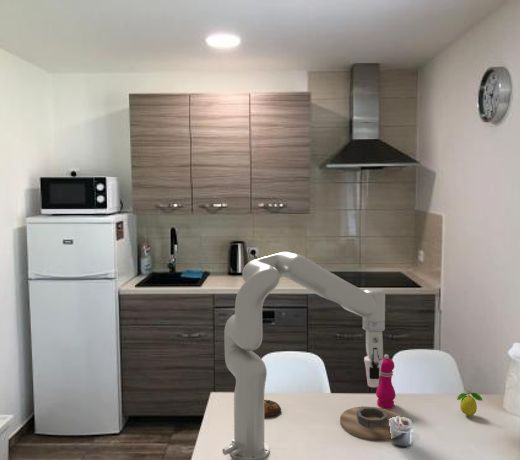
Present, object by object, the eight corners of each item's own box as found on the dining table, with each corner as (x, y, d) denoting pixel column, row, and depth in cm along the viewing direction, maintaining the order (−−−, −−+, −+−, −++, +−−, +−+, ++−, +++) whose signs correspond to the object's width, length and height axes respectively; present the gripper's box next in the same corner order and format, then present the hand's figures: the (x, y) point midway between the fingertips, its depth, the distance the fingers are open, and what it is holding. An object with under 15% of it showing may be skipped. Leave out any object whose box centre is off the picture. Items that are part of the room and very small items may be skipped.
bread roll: (279, 419, 175) (277, 405, 175) (249, 421, 177) (248, 407, 177) (283, 406, 186) (281, 394, 186) (255, 408, 188) (253, 396, 188)
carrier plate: (381, 447, 155) (382, 435, 155) (327, 424, 171) (327, 413, 171) (416, 424, 171) (416, 413, 170) (363, 405, 186) (363, 395, 186)
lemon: (482, 418, 175) (483, 391, 174) (469, 421, 173) (470, 394, 172) (467, 410, 181) (468, 384, 181) (455, 413, 179) (456, 387, 178)
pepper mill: (375, 408, 184) (376, 356, 182) (376, 400, 191) (377, 350, 189) (395, 410, 182) (396, 358, 180) (395, 402, 189) (396, 352, 187)
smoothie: (381, 381, 173) (381, 343, 171) (383, 389, 166) (384, 349, 165) (362, 381, 173) (363, 343, 172) (364, 388, 167) (365, 349, 166)
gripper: (388, 332, 159) (387, 385, 161) (381, 318, 176) (380, 366, 178) (365, 331, 160) (364, 384, 161) (360, 317, 177) (359, 365, 178)
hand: (373, 374), depth 170 cm, fingers closed on smoothie, 5 cm apart
